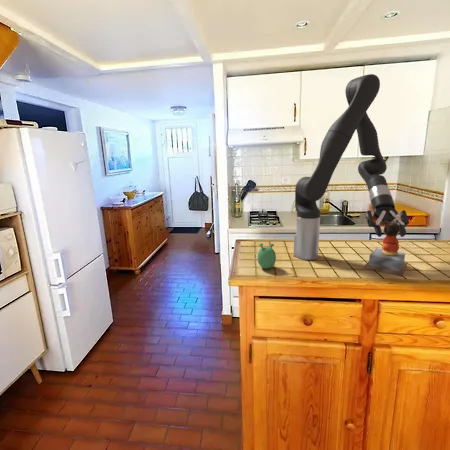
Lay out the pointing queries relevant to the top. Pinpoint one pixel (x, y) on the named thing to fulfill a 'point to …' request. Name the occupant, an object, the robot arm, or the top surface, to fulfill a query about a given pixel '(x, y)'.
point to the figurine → (390, 239)
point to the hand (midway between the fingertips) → (391, 235)
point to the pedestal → (387, 262)
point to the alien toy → (266, 256)
